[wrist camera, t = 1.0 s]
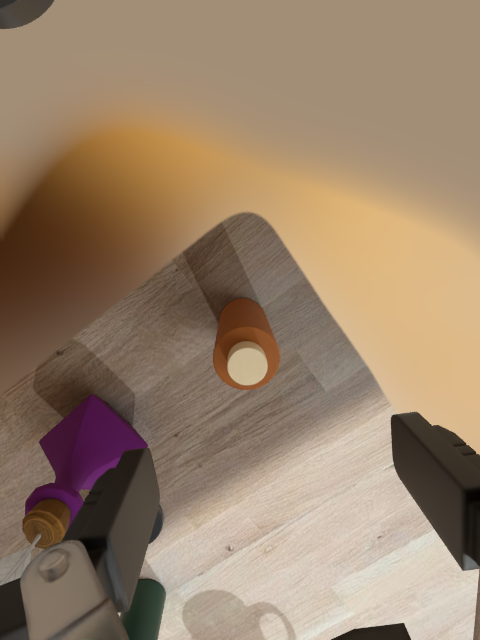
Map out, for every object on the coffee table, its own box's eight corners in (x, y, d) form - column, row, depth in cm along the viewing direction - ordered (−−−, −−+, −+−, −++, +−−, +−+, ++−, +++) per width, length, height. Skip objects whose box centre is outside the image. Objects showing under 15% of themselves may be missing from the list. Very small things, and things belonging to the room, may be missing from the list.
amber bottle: (214, 337, 35) (204, 391, 23) (225, 293, 34) (221, 324, 22) (259, 348, 35) (272, 406, 23) (271, 304, 34) (291, 341, 22)
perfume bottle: (104, 379, 36) (-19, 515, 18) (156, 428, 37) (87, 598, 20) (54, 424, 37) (-106, 592, 20) (106, 470, 38) (0, 666, 21)
